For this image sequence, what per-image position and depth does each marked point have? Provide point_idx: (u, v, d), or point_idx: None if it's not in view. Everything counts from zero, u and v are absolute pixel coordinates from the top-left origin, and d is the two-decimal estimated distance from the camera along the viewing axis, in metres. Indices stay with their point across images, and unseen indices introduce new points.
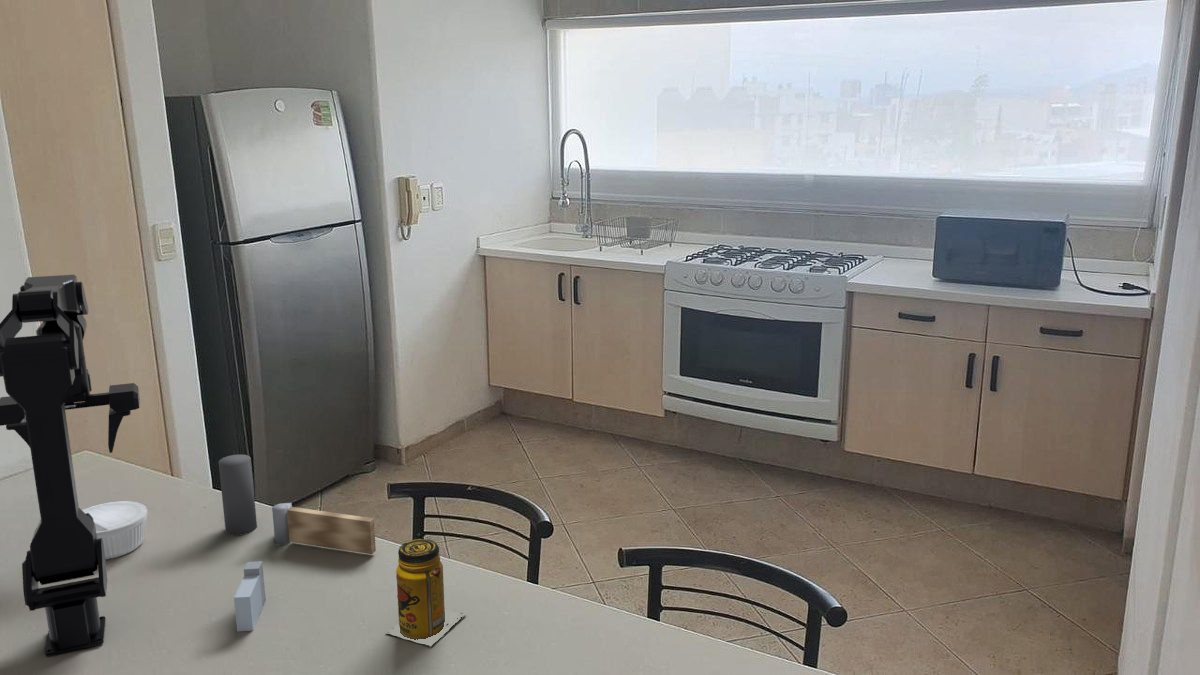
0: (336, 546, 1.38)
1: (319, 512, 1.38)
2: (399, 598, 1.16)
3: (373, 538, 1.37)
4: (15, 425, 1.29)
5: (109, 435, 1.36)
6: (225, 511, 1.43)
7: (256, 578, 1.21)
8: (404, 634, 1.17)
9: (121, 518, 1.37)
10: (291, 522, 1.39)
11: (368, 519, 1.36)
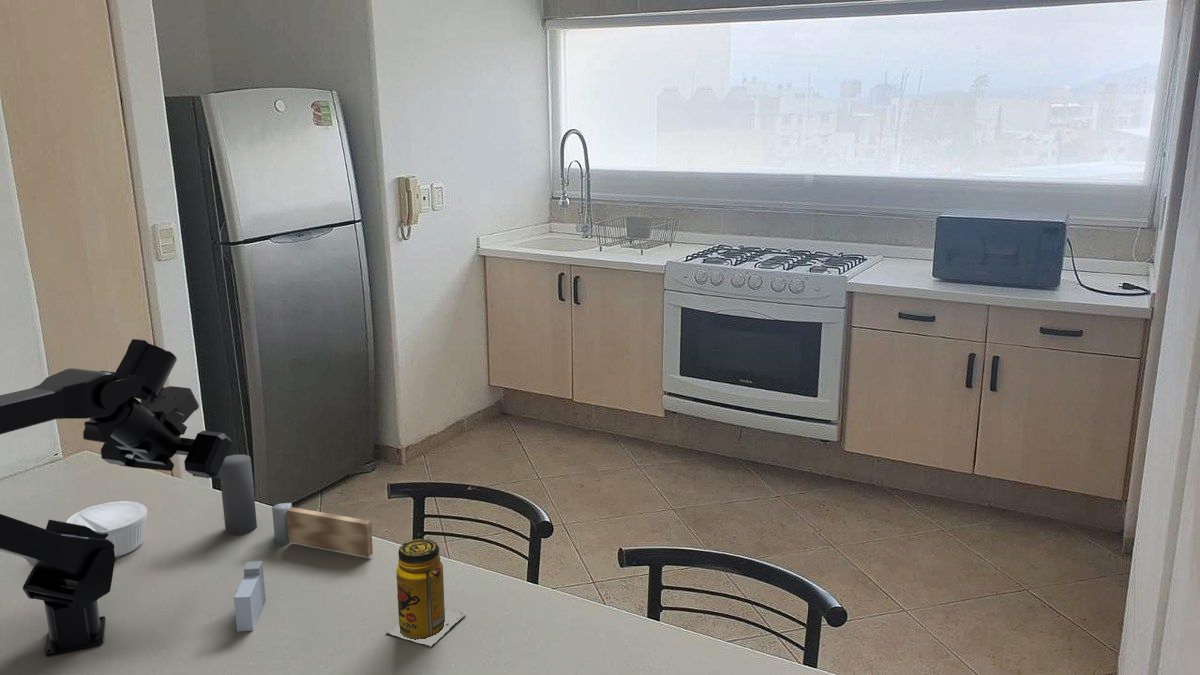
0: (334, 548, 1.38)
1: (318, 513, 1.38)
2: (399, 598, 1.16)
3: (370, 541, 1.36)
4: None
5: None
6: (225, 511, 1.43)
7: (256, 578, 1.21)
8: (404, 634, 1.17)
9: (121, 518, 1.37)
10: (290, 522, 1.39)
11: (365, 521, 1.35)
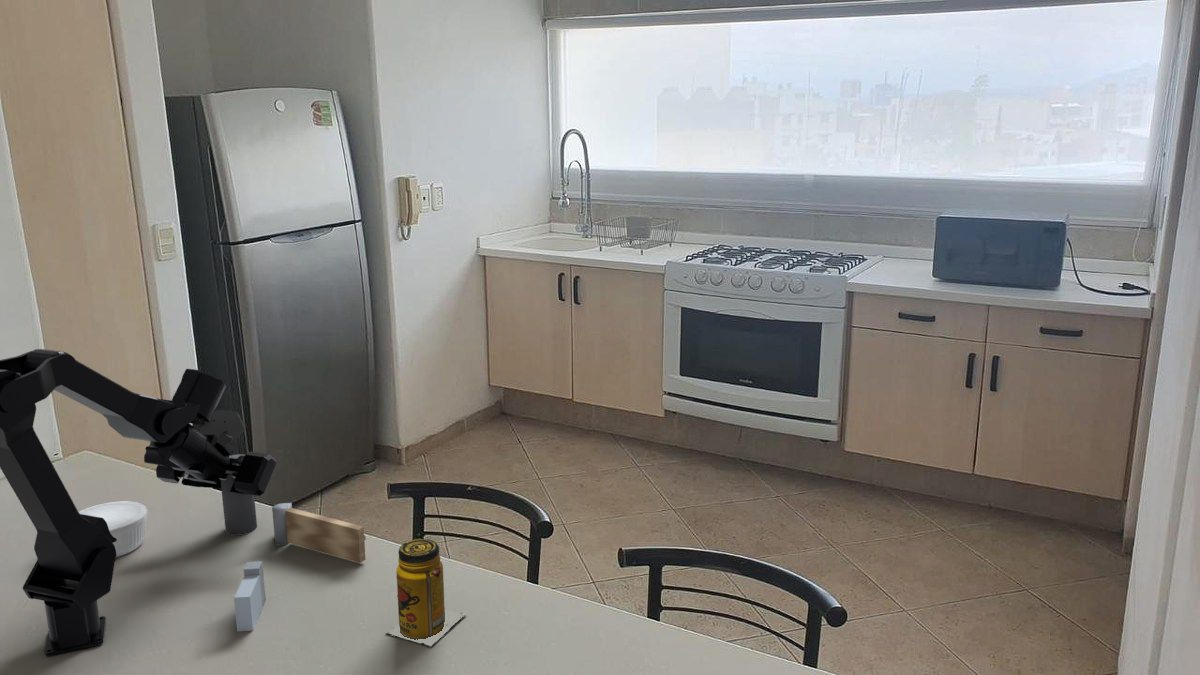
0: (328, 551, 1.37)
1: (314, 515, 1.37)
2: (399, 598, 1.16)
3: (362, 546, 1.34)
4: (187, 482, 1.40)
5: None
6: (225, 511, 1.43)
7: (256, 578, 1.21)
8: (404, 634, 1.17)
9: (121, 518, 1.37)
10: (289, 523, 1.39)
11: (357, 527, 1.34)
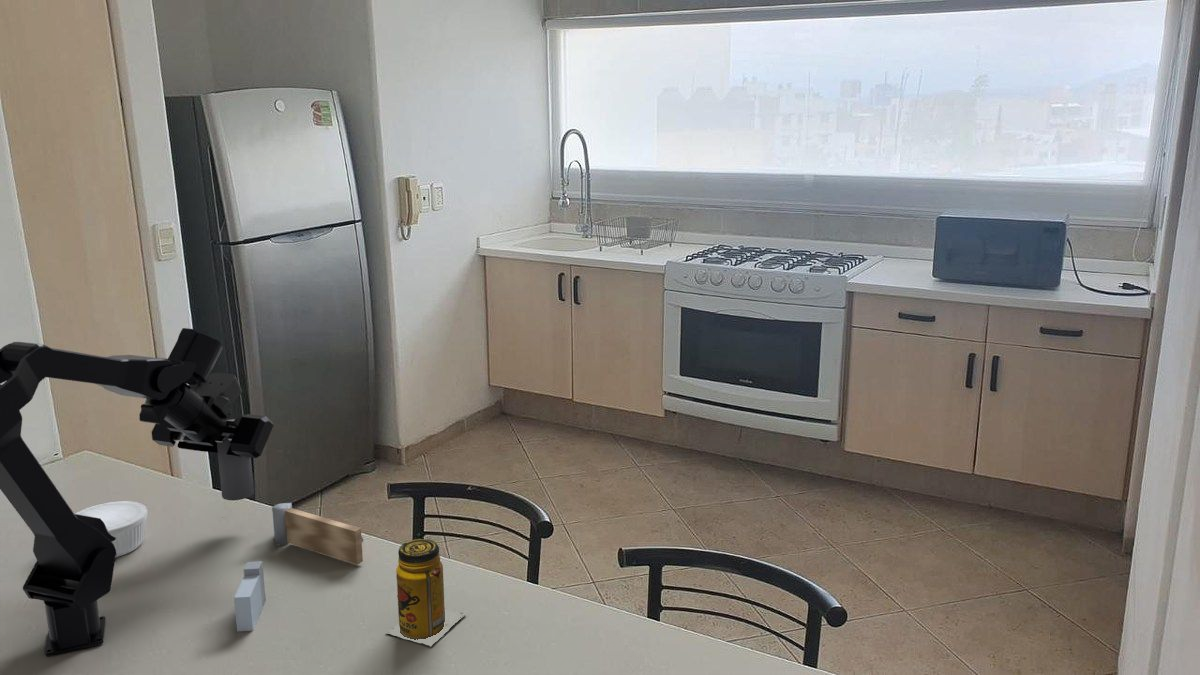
0: (326, 552, 1.36)
1: (313, 516, 1.37)
2: (399, 598, 1.16)
3: (359, 548, 1.34)
4: (183, 445, 1.38)
5: None
6: (221, 476, 1.41)
7: (256, 578, 1.21)
8: (404, 634, 1.17)
9: (121, 518, 1.37)
10: (288, 523, 1.39)
11: (355, 528, 1.33)
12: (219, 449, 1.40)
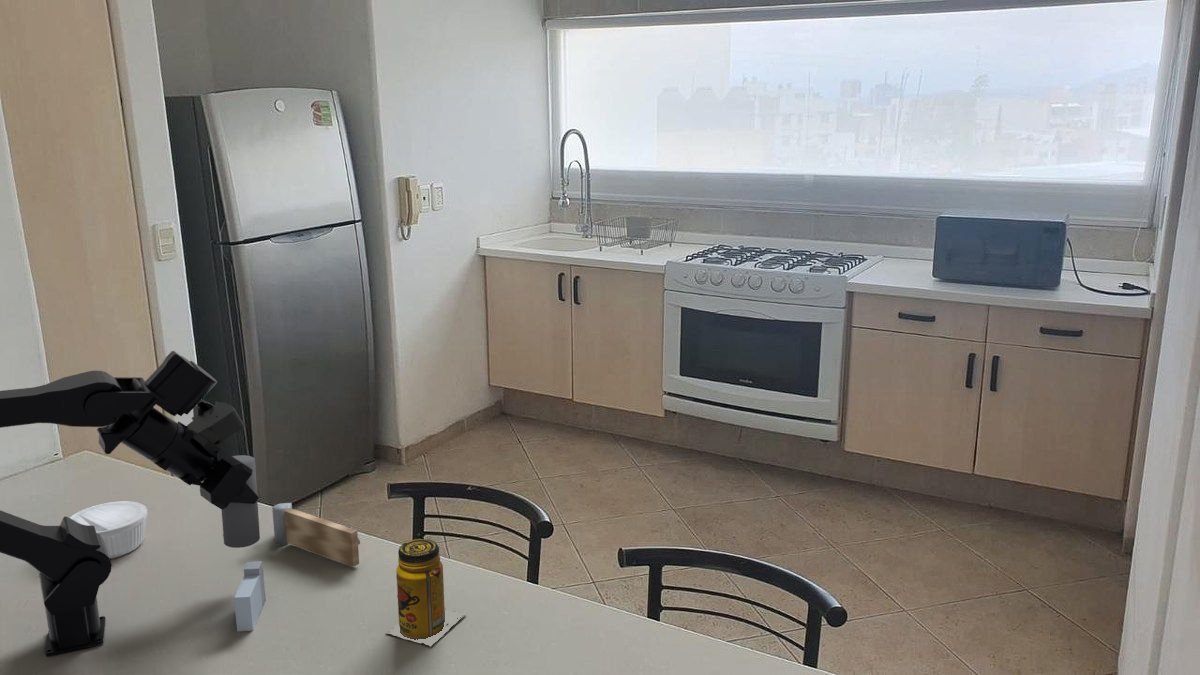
0: (324, 553, 1.36)
1: (311, 517, 1.37)
2: (399, 598, 1.16)
3: (356, 550, 1.33)
4: None
5: None
6: (222, 517, 1.26)
7: (256, 578, 1.21)
8: (404, 634, 1.17)
9: (121, 518, 1.37)
10: (287, 523, 1.39)
11: (351, 530, 1.33)
12: None
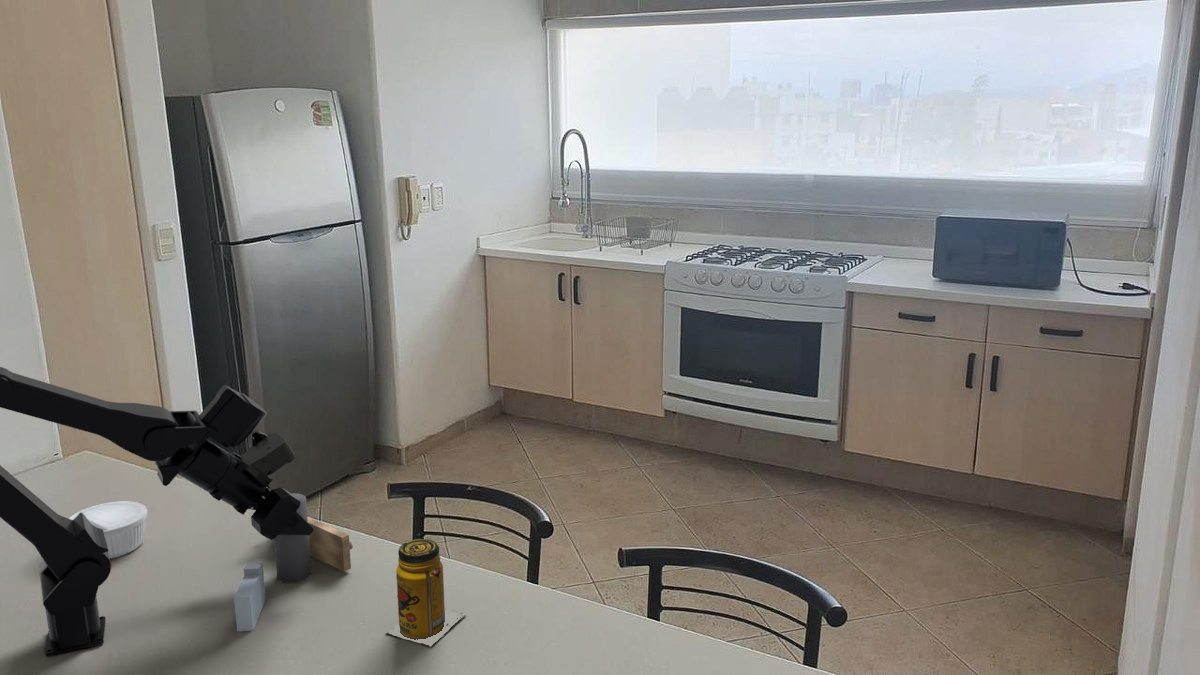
0: (318, 556, 1.35)
1: None
2: (399, 598, 1.16)
3: (347, 555, 1.32)
4: None
5: None
6: (275, 553, 1.30)
7: (256, 578, 1.21)
8: (404, 634, 1.17)
9: (121, 518, 1.37)
10: None
11: (343, 535, 1.31)
12: None
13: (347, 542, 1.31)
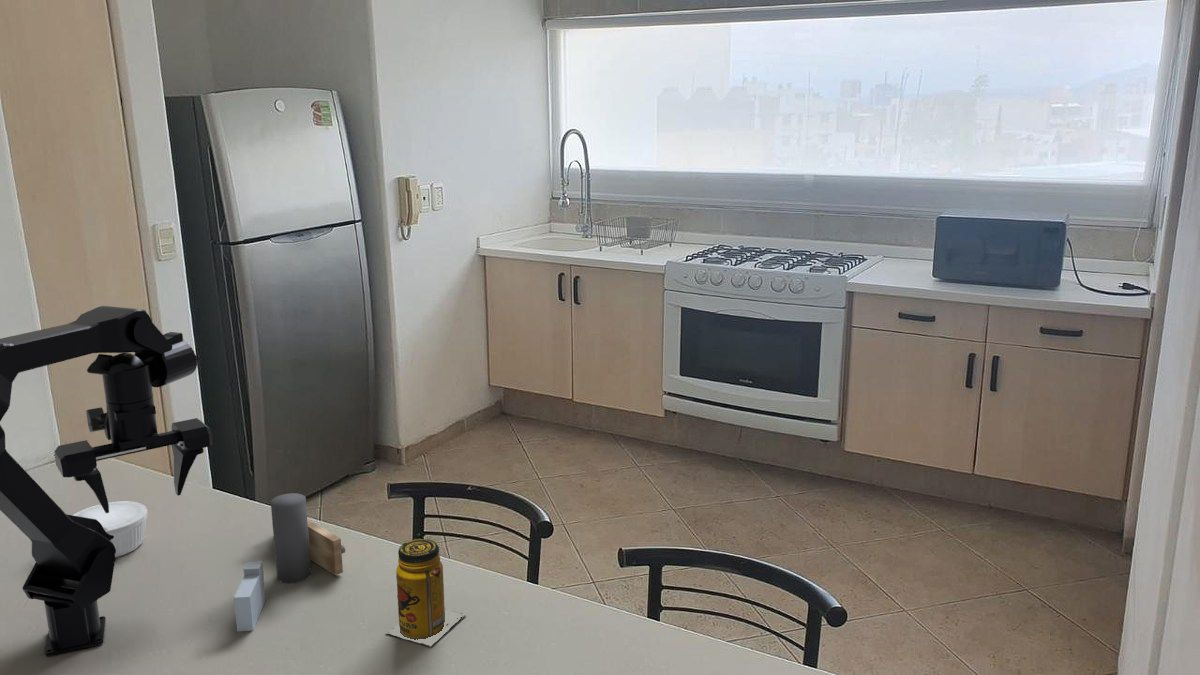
0: (313, 558, 1.34)
1: None
2: (399, 598, 1.16)
3: (339, 559, 1.31)
4: (85, 475, 1.17)
5: (180, 476, 1.26)
6: (275, 553, 1.30)
7: (256, 578, 1.21)
8: (404, 634, 1.17)
9: (121, 518, 1.37)
10: None
11: (334, 538, 1.30)
12: None
13: (339, 546, 1.30)
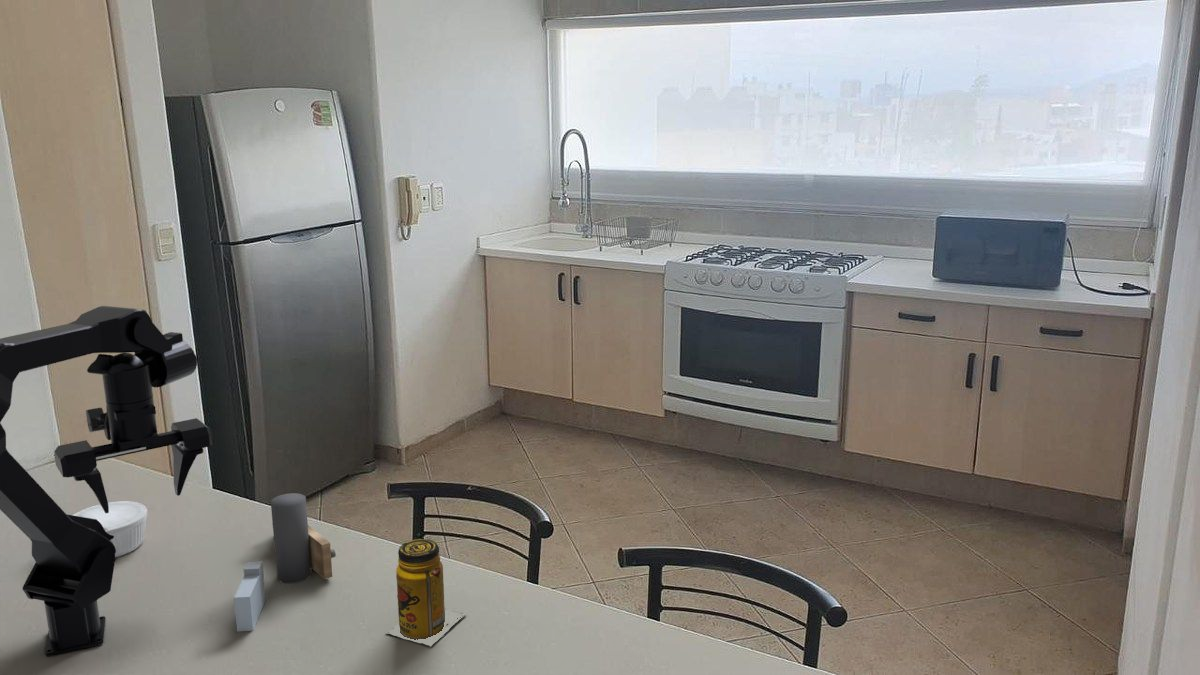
0: None
1: None
2: (399, 598, 1.16)
3: (328, 563, 1.29)
4: (85, 475, 1.17)
5: (180, 476, 1.26)
6: (275, 553, 1.30)
7: (256, 578, 1.21)
8: (404, 634, 1.17)
9: (121, 518, 1.37)
10: None
11: (324, 542, 1.29)
12: None
13: (328, 550, 1.29)
